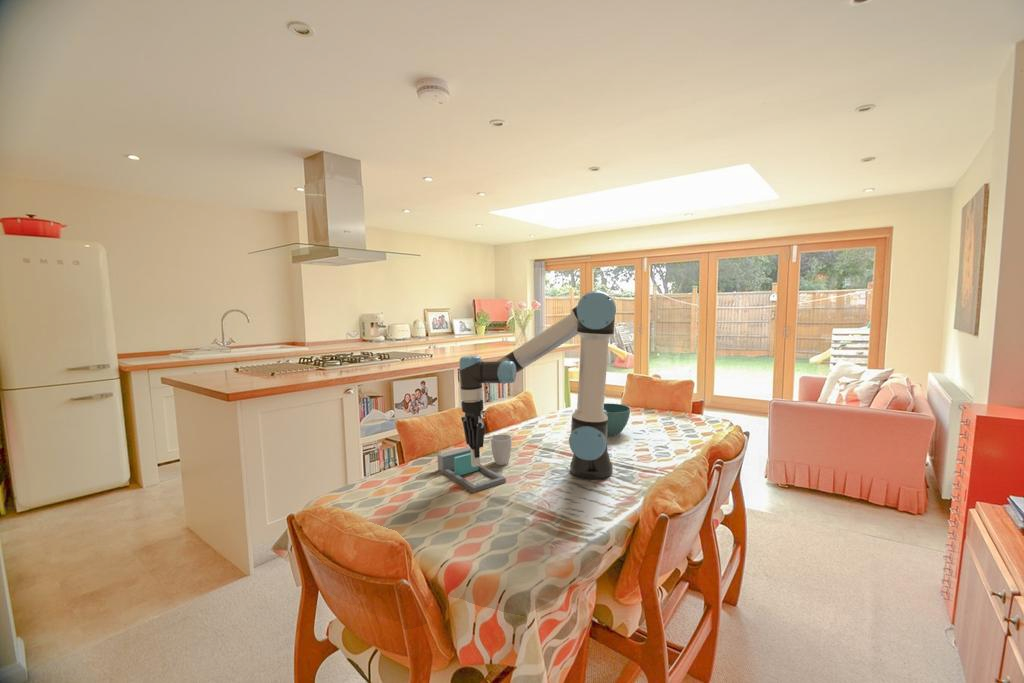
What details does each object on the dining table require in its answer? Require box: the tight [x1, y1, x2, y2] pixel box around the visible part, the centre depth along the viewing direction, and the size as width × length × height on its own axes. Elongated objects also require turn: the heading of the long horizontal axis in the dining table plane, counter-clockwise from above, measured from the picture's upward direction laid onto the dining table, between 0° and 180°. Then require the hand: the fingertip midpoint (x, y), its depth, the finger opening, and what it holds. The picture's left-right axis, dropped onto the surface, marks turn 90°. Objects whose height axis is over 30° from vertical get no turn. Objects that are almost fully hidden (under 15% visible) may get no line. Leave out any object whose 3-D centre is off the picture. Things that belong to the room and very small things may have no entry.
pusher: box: [454, 453, 479, 476], centre depth 160 cm, size 5×9×7 cm, turn 126°
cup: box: [490, 433, 513, 466], centre depth 168 cm, size 8×8×10 cm
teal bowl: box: [604, 402, 631, 437], centre depth 202 cm, size 18×18×12 cm
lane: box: [437, 446, 507, 493], centre depth 157 cm, size 26×13×6 cm, turn 36°
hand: (475, 465), depth 154 cm, fingers closed
